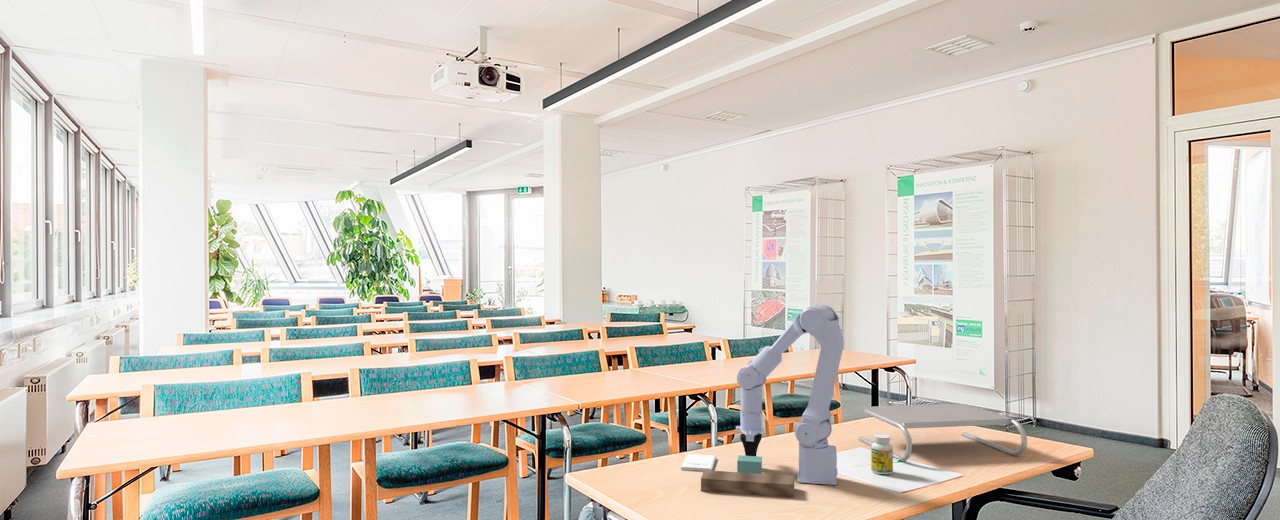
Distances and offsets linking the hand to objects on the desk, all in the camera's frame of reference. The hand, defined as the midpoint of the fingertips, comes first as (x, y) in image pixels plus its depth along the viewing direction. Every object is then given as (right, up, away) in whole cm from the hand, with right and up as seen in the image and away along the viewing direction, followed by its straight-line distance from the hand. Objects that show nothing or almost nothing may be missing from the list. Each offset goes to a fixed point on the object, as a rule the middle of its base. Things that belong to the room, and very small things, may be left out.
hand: (750, 461), depth 190 cm
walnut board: (-4, -1, -19) cm, 19 cm away
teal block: (-1, -2, -7) cm, 8 cm away
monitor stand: (+59, -2, +19) cm, 62 cm away
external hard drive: (-14, -2, +2) cm, 14 cm away
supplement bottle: (+34, -2, -4) cm, 34 cm away
